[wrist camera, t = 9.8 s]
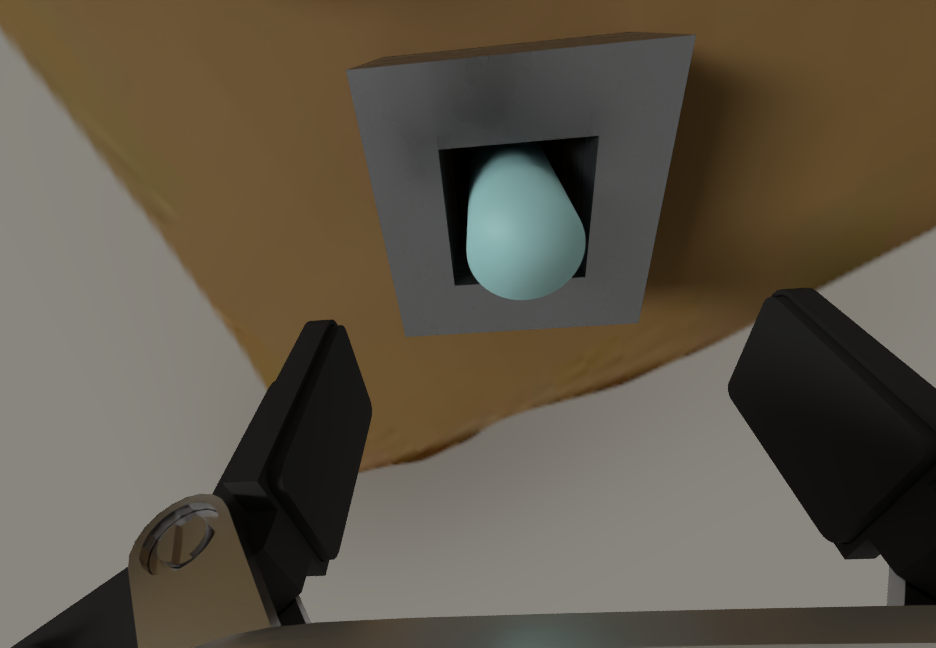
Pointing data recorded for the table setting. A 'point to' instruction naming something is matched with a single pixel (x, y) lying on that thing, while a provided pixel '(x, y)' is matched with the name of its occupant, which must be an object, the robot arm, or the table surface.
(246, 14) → the table surface
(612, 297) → the socket
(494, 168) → the plug
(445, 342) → the table surface
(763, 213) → the table surface
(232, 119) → the table surface
